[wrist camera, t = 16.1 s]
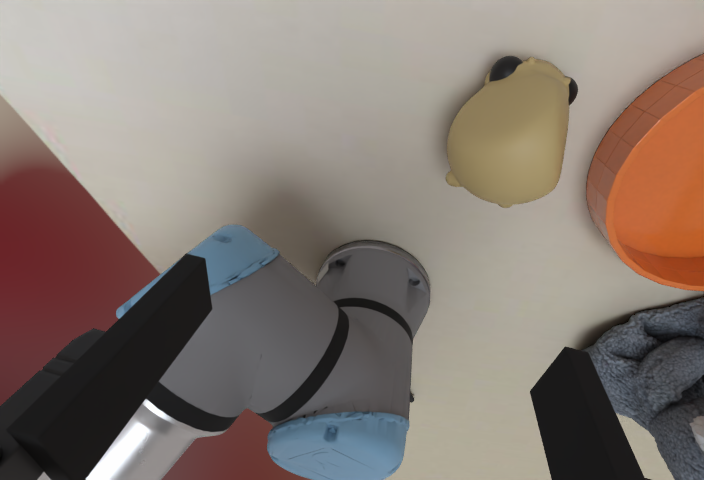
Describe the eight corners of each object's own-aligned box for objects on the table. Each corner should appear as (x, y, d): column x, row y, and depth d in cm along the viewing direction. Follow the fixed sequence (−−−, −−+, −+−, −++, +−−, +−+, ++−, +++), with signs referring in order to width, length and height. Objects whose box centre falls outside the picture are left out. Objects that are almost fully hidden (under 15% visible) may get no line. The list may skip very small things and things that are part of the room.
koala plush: (743, 381, 44) (920, 594, 28) (582, 395, 51) (649, 571, 35) (748, 280, 36) (992, 491, 20) (559, 313, 44) (630, 488, 28)
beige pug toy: (538, 129, 36) (637, 58, 25) (508, 233, 33) (605, 202, 23) (453, 89, 35) (519, -1, 24) (415, 192, 32) (471, 141, 22)
